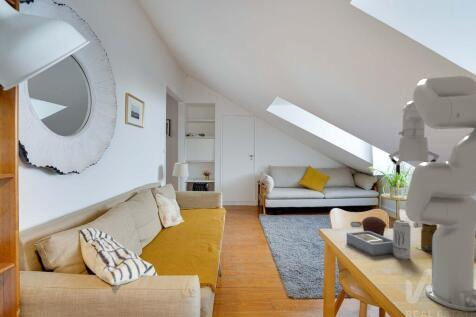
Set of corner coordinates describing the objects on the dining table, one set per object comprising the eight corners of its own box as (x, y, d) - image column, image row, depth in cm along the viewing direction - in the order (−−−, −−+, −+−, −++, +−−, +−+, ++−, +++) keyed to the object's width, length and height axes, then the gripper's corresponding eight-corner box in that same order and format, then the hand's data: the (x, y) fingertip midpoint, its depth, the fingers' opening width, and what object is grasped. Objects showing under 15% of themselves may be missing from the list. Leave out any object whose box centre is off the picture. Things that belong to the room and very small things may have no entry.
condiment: (428, 246, 118) (429, 221, 117) (446, 253, 109) (447, 226, 109) (415, 247, 116) (415, 222, 116) (432, 255, 108) (433, 227, 108)
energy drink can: (391, 256, 106) (391, 221, 106) (395, 253, 110) (396, 219, 110) (407, 261, 101) (408, 224, 101) (412, 257, 105) (412, 221, 105)
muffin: (356, 234, 136) (356, 215, 135) (371, 231, 140) (371, 214, 140) (376, 241, 125) (376, 221, 125) (391, 238, 129) (391, 219, 129)
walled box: (396, 253, 110) (397, 241, 110) (372, 256, 106) (372, 244, 106) (368, 240, 125) (368, 230, 125) (346, 243, 122) (346, 233, 122)
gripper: (389, 134, 107) (388, 174, 107) (441, 132, 98) (440, 176, 98) (389, 135, 113) (388, 173, 114) (437, 133, 104) (436, 175, 105)
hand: (412, 174), depth 106 cm, fingers open, 9 cm apart
